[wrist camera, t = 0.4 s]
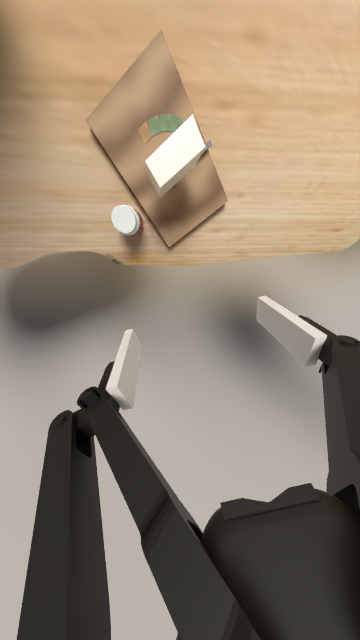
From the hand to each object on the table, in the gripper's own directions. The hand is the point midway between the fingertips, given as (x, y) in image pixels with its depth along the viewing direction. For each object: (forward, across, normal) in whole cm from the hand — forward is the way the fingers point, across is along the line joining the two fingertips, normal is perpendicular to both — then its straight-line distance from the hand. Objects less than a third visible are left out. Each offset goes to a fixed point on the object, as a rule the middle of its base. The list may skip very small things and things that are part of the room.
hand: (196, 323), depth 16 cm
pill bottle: (+27, -7, +12) cm, 30 cm away
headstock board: (+27, +2, +18) cm, 32 cm away
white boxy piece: (+25, +5, +17) cm, 30 cm away
